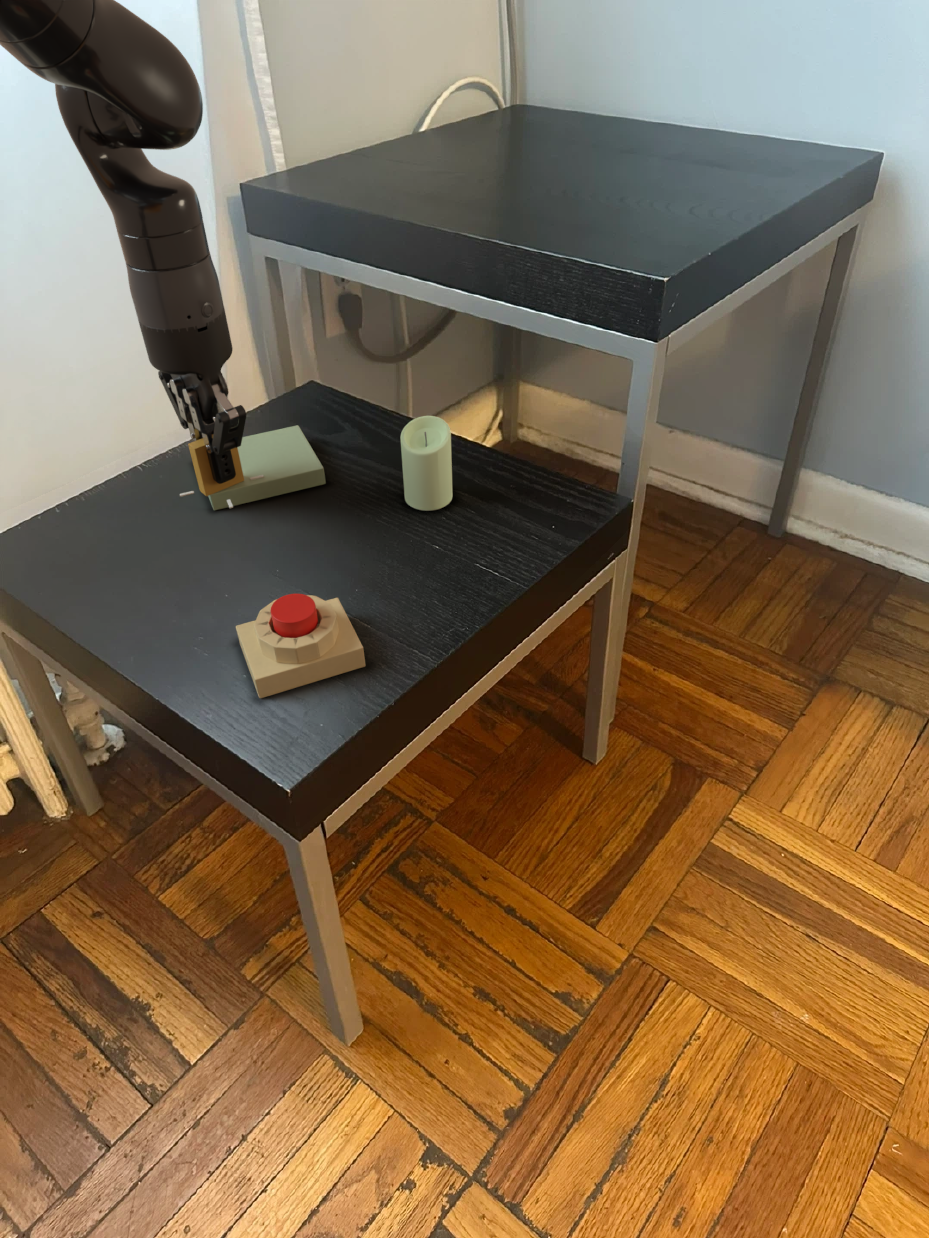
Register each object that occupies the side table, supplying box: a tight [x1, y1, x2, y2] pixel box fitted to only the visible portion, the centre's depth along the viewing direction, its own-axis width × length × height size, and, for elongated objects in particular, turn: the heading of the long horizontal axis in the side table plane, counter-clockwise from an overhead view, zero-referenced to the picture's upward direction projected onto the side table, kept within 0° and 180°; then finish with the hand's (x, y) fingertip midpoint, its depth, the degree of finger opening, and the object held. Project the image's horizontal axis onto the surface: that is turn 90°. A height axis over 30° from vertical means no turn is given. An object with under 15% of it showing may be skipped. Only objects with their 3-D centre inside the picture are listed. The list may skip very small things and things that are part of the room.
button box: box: [235, 594, 366, 699], centre depth 73 cm, size 9×7×4 cm
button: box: [270, 593, 318, 638], centre depth 71 cm, size 4×4×2 cm
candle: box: [400, 415, 453, 512], centre depth 89 cm, size 5×5×8 cm
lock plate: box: [179, 425, 327, 511], centre depth 93 cm, size 15×13×2 cm
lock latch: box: [187, 434, 244, 497], centre depth 88 cm, size 4×1×6 cm, turn 130°
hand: (220, 475), depth 89 cm, fingers closed
